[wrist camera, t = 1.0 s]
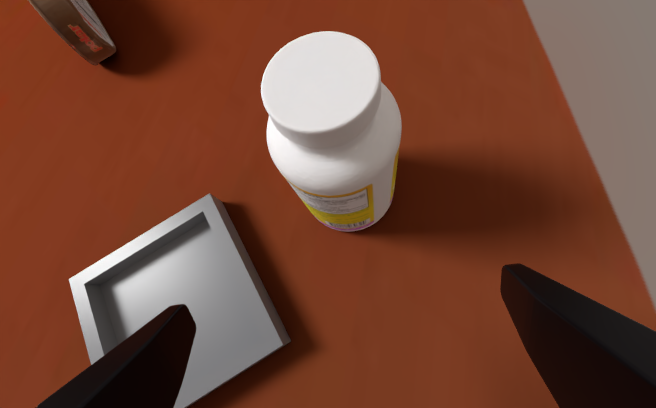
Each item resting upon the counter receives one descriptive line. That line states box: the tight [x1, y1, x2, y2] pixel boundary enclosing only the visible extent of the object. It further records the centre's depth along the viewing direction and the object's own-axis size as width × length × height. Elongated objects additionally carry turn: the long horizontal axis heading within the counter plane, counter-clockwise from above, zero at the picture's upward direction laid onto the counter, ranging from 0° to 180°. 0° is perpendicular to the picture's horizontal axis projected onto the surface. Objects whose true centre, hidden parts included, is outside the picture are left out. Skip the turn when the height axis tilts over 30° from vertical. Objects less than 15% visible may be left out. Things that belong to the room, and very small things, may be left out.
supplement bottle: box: [261, 31, 401, 232], centre depth 18 cm, size 7×7×13 cm
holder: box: [69, 193, 291, 408], centre depth 22 cm, size 12×12×2 cm
